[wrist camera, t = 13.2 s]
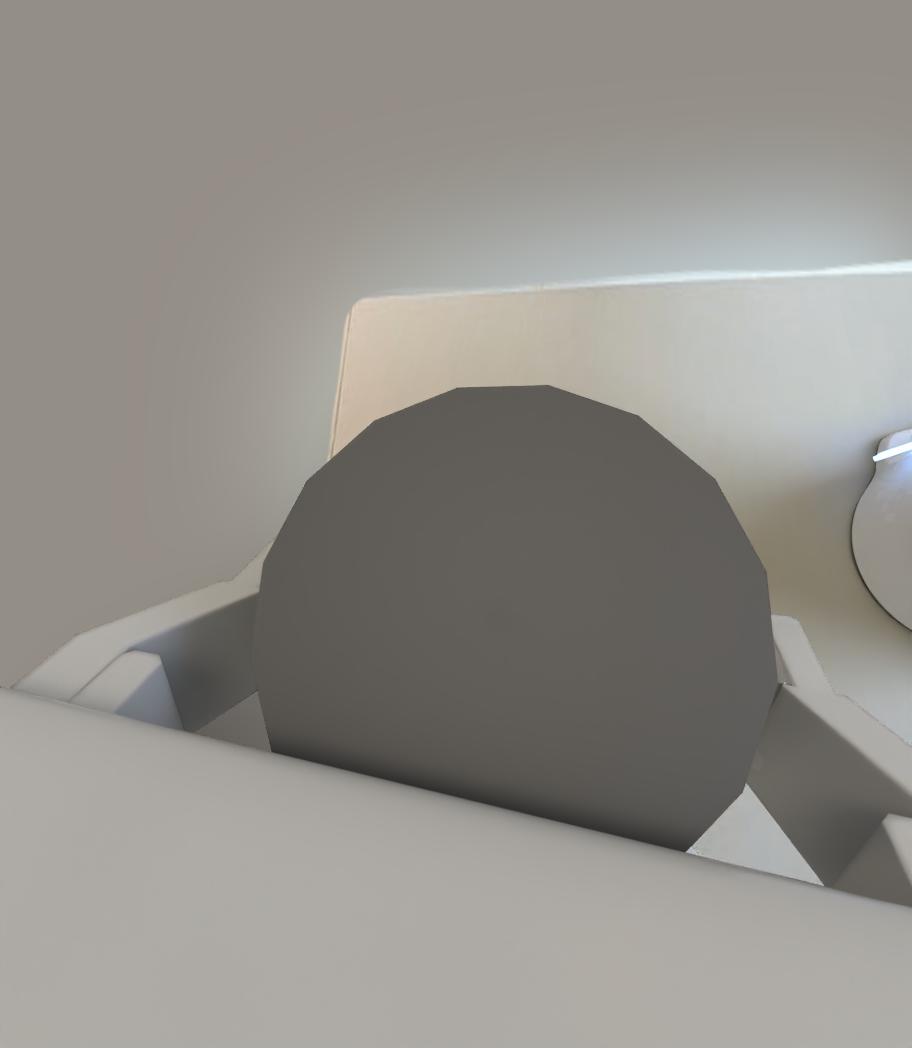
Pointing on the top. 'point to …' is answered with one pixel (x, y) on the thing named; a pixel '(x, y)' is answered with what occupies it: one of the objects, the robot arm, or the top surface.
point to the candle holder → (521, 616)
